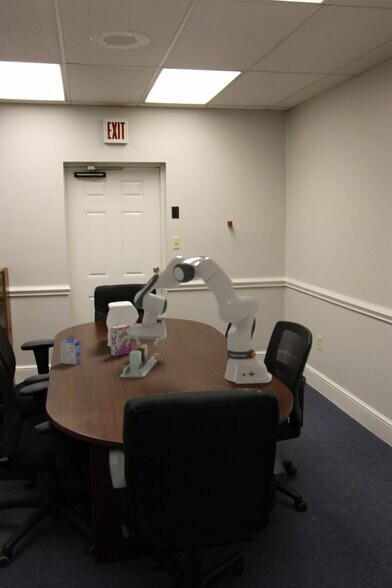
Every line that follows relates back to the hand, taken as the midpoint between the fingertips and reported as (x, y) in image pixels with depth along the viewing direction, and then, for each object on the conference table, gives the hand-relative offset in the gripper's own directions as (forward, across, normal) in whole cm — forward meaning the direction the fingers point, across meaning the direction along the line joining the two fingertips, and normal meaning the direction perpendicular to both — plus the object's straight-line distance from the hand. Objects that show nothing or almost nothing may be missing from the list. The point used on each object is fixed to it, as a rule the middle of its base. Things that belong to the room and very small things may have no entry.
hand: (146, 344), depth 268 cm
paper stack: (-20, -25, +33) cm, 46 cm away
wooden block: (+13, 0, -2) cm, 13 cm away
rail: (+18, 0, -6) cm, 19 cm away
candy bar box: (-2, -18, +14) cm, 23 cm away
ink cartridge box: (+12, -40, +1) cm, 42 cm away
